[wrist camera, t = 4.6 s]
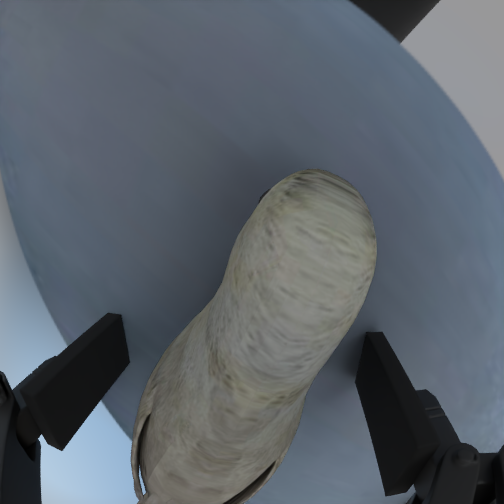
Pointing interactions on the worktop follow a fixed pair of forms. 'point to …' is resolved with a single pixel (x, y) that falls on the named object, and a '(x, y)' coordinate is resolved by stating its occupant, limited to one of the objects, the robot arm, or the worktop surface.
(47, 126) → the worktop surface
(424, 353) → the worktop surface
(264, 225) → the decorative bird
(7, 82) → the worktop surface
